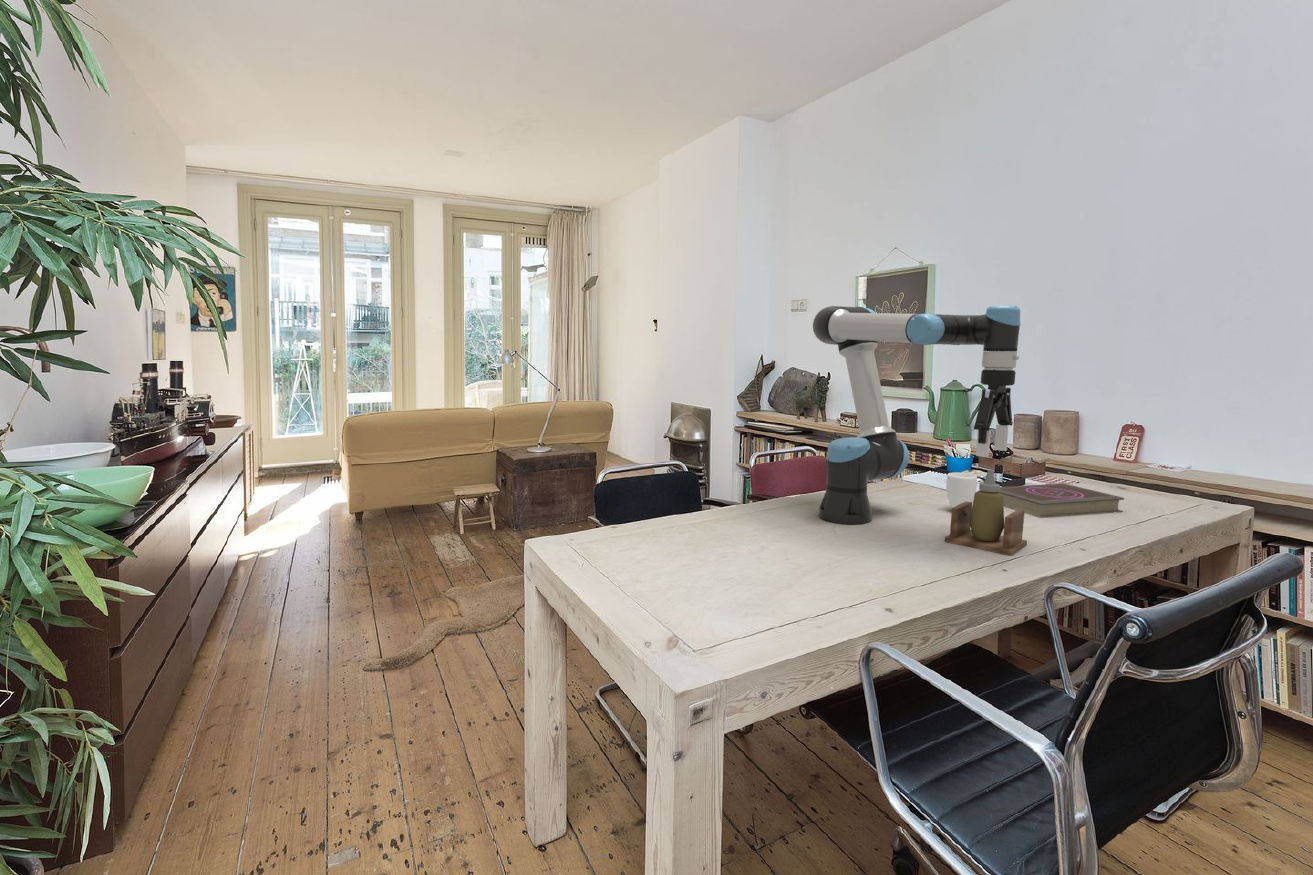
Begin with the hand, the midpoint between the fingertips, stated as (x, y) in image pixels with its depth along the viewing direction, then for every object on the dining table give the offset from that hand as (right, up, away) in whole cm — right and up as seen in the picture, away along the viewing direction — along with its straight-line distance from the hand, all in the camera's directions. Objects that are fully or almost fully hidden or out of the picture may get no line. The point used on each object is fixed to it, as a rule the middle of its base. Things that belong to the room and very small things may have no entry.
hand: (991, 453), depth 161 cm
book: (+42, -19, +43) cm, 62 cm away
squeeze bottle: (0, -22, +3) cm, 23 cm away
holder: (0, -23, +3) cm, 24 cm away
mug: (+11, -19, +36) cm, 42 cm away
